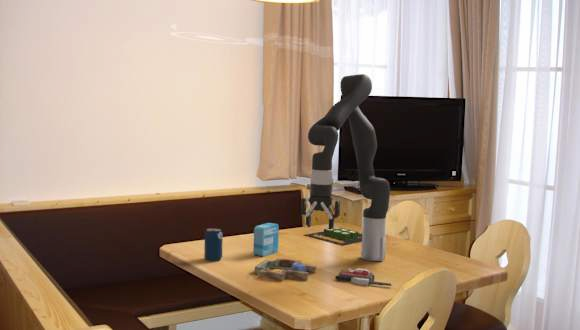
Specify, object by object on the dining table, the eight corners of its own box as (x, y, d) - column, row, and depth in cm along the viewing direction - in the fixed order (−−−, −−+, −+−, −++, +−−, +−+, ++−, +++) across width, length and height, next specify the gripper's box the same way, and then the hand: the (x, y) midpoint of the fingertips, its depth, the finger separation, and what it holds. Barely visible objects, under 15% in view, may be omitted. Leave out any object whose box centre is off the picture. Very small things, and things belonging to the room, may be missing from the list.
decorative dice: (290, 274, 216) (291, 264, 216) (297, 272, 219) (298, 262, 219) (299, 277, 214) (299, 266, 213) (306, 275, 216) (306, 264, 216)
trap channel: (319, 269, 224) (319, 262, 224) (302, 284, 205) (303, 276, 205) (270, 263, 231) (270, 256, 230) (249, 276, 212) (249, 269, 212)
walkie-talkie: (333, 282, 209) (390, 289, 203) (334, 270, 209) (391, 277, 203) (338, 276, 217) (393, 282, 212) (339, 264, 217) (394, 270, 211)
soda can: (225, 259, 233) (226, 229, 232) (212, 262, 228) (212, 232, 227) (214, 256, 238) (214, 226, 237) (200, 259, 233) (201, 229, 232)
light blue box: (262, 257, 239) (263, 228, 238) (253, 255, 241) (253, 226, 240) (278, 251, 249) (279, 223, 248) (269, 250, 251) (270, 222, 250)
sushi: (303, 236, 281) (303, 229, 281) (338, 230, 298) (339, 223, 298) (342, 247, 263) (342, 238, 263) (378, 239, 280) (378, 231, 280)
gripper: (343, 182, 212) (341, 228, 213) (305, 179, 216) (303, 224, 218) (338, 185, 205) (336, 232, 206) (298, 182, 209) (297, 227, 211)
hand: (319, 227), depth 212 cm, fingers open, 7 cm apart
